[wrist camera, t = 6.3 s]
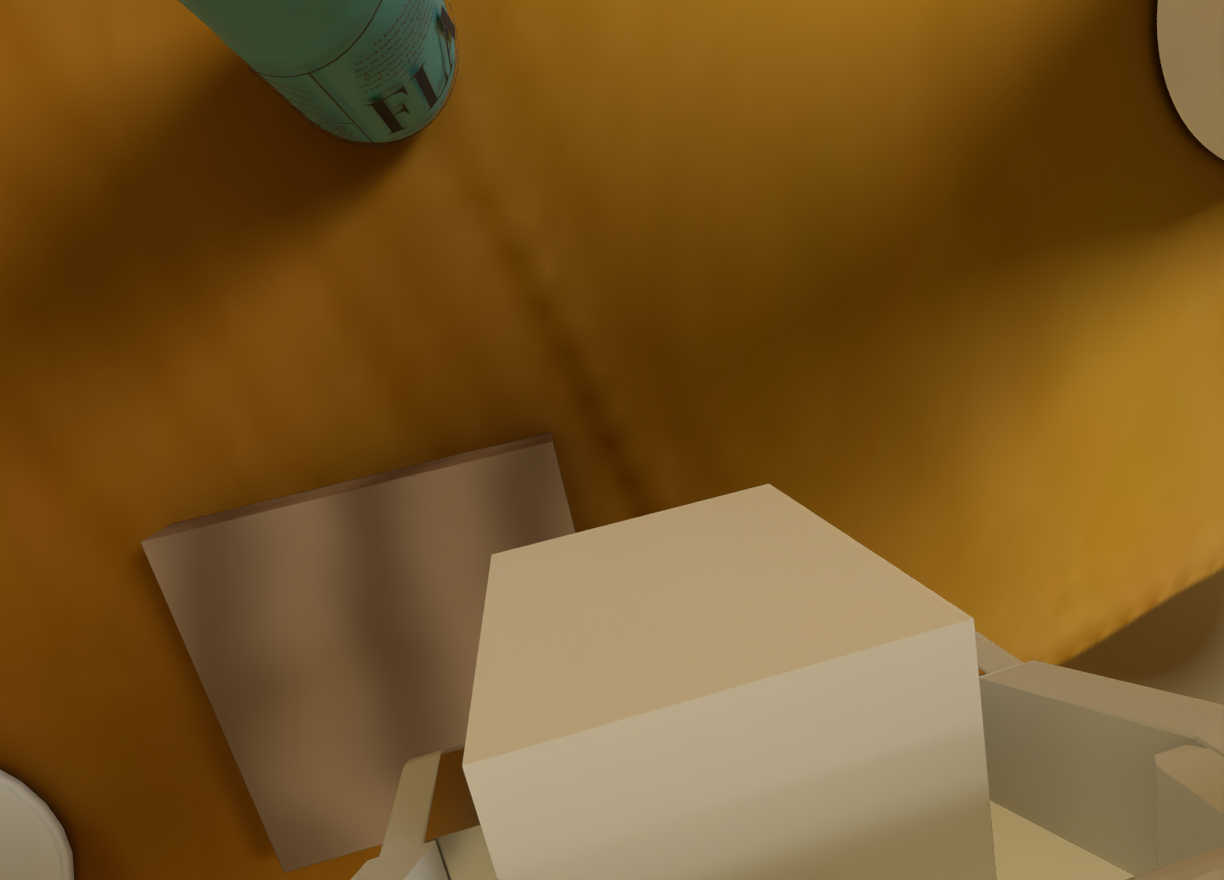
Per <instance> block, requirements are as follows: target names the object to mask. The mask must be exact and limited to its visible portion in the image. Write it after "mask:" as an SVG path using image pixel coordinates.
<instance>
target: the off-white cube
mask: <svg viewBox="0 0 1224 880" xmlns="http://www.w3.org/2000/svg"><path fill="white" fill-rule="evenodd" d="M462 767H463V771H464V774H465V777H466V780H467V783H468V786H469V790H470V793H471V796H472V799H473V802H474V805H475V809H476V812H477V815H478V818H479V821H480V824H481V828H482V831H483V834H484V837H485V840H486V843H487V847H488V850H489V853H490V856H491V859H492V862H493V866H494V869H495V872H496V875H497V878H498V880H997V878H996V866H995V855H994V844H993V832H992V822H991V810H990V798H989V787H988V775H987V764H986V752H985V741H984V730H983V718H982V707H981V695H980V684H979V673H978V661H977V650H976V638H975V627H974V618H973V617H971V616H969V615H968V614H966V613H965V612H963V611H962V610H960V609H959V608H957V607H956V606H954V605H953V604H951V603H950V602H948V601H947V600H945V599H944V598H942V597H941V596H939V595H938V594H936V593H935V592H933V591H932V590H930V589H928V588H927V587H925V586H924V585H922V584H921V583H919V582H918V581H916V580H915V579H913V578H912V577H910V576H909V575H907V574H906V573H904V572H903V571H901V570H900V569H898V568H897V567H895V566H894V565H892V564H891V563H889V562H887V561H886V560H884V559H883V558H881V557H880V556H878V555H877V554H875V553H874V552H872V551H871V550H869V549H868V548H866V547H865V546H863V545H862V544H860V543H859V542H857V541H856V540H854V539H853V538H851V537H849V536H848V535H846V534H845V533H843V532H842V531H840V530H839V529H837V528H836V527H834V526H833V525H831V524H830V523H828V522H827V521H825V520H824V519H822V518H821V517H819V516H818V515H816V514H815V513H813V512H812V511H810V510H808V509H807V508H805V507H804V506H802V505H801V504H799V503H798V502H796V501H795V500H793V499H792V498H790V497H789V496H787V495H786V494H784V493H783V492H781V491H780V490H778V489H777V488H775V487H774V486H772V485H771V484H765V485H761V486H757V487H754V488H750V489H746V490H742V491H738V492H734V493H730V494H726V495H722V496H718V497H715V498H711V499H707V500H703V501H699V502H695V503H691V504H687V505H683V506H679V507H675V508H672V509H668V510H664V511H660V512H656V513H652V514H648V515H644V516H640V517H636V518H632V519H629V520H625V521H621V522H617V523H613V524H609V525H605V526H601V527H597V528H593V529H590V530H586V531H582V532H578V533H574V534H570V535H566V536H562V537H558V538H554V539H550V540H547V541H543V542H539V543H535V544H531V545H527V546H523V547H519V548H515V549H511V550H507V551H504V552H500V553H496V554H492V555H491V562H490V569H489V576H488V584H487V591H486V598H485V605H484V612H483V619H482V627H481V634H480V641H479V648H478V655H477V663H476V670H475V677H474V684H473V691H472V699H471V706H470V713H469V720H468V727H467V734H466V742H465V749H464V756H463V763H462Z"/></svg>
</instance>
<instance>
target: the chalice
mask: <svg viewBox="0 0 1224 880" xmlns="http://www.w3.org/2000/svg"><path fill="white" fill-rule="evenodd" d="M0 880H74V868H73V854H72V850H71V847H70V845H69V842H68V839H67V837H66V834H65V831H64V828H63V826H62V825H61V824H60V822H59V821H58V819H57V818H56V817H55V815H54V814H53V812H52V811H51V810H50V808H49V807H48V805H47V804H46V803H45V802H44V801H43V800H42V799H41V798H39V797H38V796H37V795H36V794H35V793H34V792H33V791H32V790H30V789H29V788H28V787H27V786H26V785H25V784H24V783H23V782H21V781H19V780H18V779H16V778H14V777H13V776H11V775H9V774H7V773H6V772H4V771H2V770H0Z"/></svg>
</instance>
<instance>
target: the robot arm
mask: <svg viewBox="0 0 1224 880" xmlns="http://www.w3.org/2000/svg"><path fill="white" fill-rule="evenodd" d="M1157 37H1158V47H1159V55H1160V61H1161V66H1162V70H1163V75H1164V78H1165V82H1166V85H1167V88H1168V91H1169V93H1170V96H1171V99H1172V101H1173V103H1174V105H1175V107H1176V109H1177V111H1178V113H1179V115H1180V117H1181V118H1182V120H1183V121H1184V123H1185V124H1186V126H1187V127H1188V129H1189V130H1190V131H1191V132H1192V134H1193V135H1194V136H1195V137H1196V138H1197V139H1198V140H1199V141H1200V142H1201V143H1202V144H1203V145H1204V146H1205V147H1206V148H1207V149H1208V150H1210V151H1211V152H1212V153H1214V154H1215V155H1216V156H1218V157H1219V158H1221V159H1223V160H1224V0H1158V7H1157ZM975 638H976V650H977V661H978V673H979V684H980V695H981V707H982V718H983V730H984V741H985V752H986V764H987V775H988V787H989V798H990V800H991V801H993V802H995V803H997V804H999V805H1000V806H1003V807H1004V808H1006V809H1008V810H1010V811H1012V812H1014V813H1016V814H1018V815H1020V816H1022V817H1023V818H1025V819H1027V820H1029V821H1031V822H1033V823H1035V824H1037V825H1039V826H1041V827H1043V828H1044V829H1046V830H1048V831H1050V832H1052V833H1054V834H1056V835H1058V836H1060V837H1062V838H1064V839H1066V840H1067V841H1069V842H1071V843H1073V844H1075V845H1077V846H1079V847H1081V848H1083V849H1085V850H1087V851H1088V852H1090V853H1092V854H1094V855H1096V856H1098V857H1100V858H1102V859H1104V860H1106V861H1108V862H1110V863H1111V864H1113V865H1115V866H1117V867H1119V868H1121V869H1123V870H1125V871H1127V872H1129V873H1131V874H1132V875H1134V876H1135V877H1132V878H1129V879H1126V880H1224V705H1221V704H1217V703H1213V702H1208V701H1204V700H1200V699H1195V698H1192V697H1187V696H1183V695H1179V694H1175V693H1170V692H1166V691H1162V690H1157V689H1153V688H1149V687H1145V686H1141V685H1137V684H1132V683H1128V682H1124V681H1119V680H1115V679H1111V678H1107V677H1102V676H1098V675H1094V674H1090V673H1085V672H1081V671H1077V670H1073V669H1069V668H1064V667H1060V666H1056V665H1052V664H1048V663H1043V662H1039V661H1035V660H1033V661H1029V662H1026V663H1023V662H1021V661H1020V660H1018V659H1017V658H1015V657H1014V656H1012V655H1011V654H1009V653H1008V652H1006V651H1005V650H1003V649H1002V648H1001V647H999V646H998V645H996V644H995V643H993V642H992V641H990V640H989V639H987V638H986V637H984V636H983V635H981V634H980V633H978V632H977V631H975ZM464 749H465V744H463V745H460V746H456V747H452V748H448V749H445V750H444V751H437V752H434V753H430V754H427V755H423V756H420V757H416V758H413V759H410V760H409V761H408V762H407V763H406V764H405V765H404V767H403V770H402V774H401V777H400V781H399V785H398V788H397V792H396V796H395V799H394V803H393V807H392V810H391V814H390V817H389V821H388V825H387V828H386V832H385V836H384V839H383V843H382V847H381V850H380V854H379V857H377V858H374V859H371V860H368V861H367V862H366V863H365V864H364V865H363V866H362V867H361V868H360V869H359V871H358V872H357V873H356V874H355V875H354V876H353V877H352V878H351V880H498V878H497V875H496V872H495V869H494V866H493V862H492V859H491V856H490V853H489V850H488V847H487V843H486V840H485V837H484V834H483V831H482V828H481V824H480V821H479V818H478V815H477V812H476V809H475V805H474V802H473V799H472V796H471V793H470V790H469V786H468V783H467V780H466V777H465V774H464V771H463V767H462V763H463V756H464Z"/></svg>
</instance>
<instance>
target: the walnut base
mask: <svg viewBox="0 0 1224 880" xmlns="http://www.w3.org/2000/svg"><path fill="white" fill-rule="evenodd" d="M574 533H576V530H575V526H574V522H573V518H572V514H571V510H570V506H569V502H568V498H567V494H566V490H565V486H564V482H563V478H562V474H561V470H560V466H559V462H558V458H557V454H556V450H555V446H554V442H553V438H552V434H551V432H549V433H544V434H540V435H536V436H532V437H528V438H524V439H520V440H516V441H511V442H507V443H503V444H499V445H495V446H491V447H487V448H483V449H478V450H474V451H470V452H466V453H462V454H458V455H454V456H450V457H445V458H441V459H437V460H433V461H429V462H425V463H421V464H417V465H412V466H408V467H404V468H400V469H396V470H392V471H388V472H384V473H379V474H375V475H371V476H367V477H363V478H359V479H355V480H351V481H346V482H342V483H338V484H334V485H330V486H326V487H322V488H318V489H313V490H309V491H305V492H301V493H297V494H293V495H289V496H285V497H280V498H276V499H272V500H268V501H264V502H260V503H256V504H252V505H247V506H243V507H239V508H235V509H231V510H227V511H223V512H219V513H215V514H210V515H206V516H202V517H198V518H194V519H190V520H186V521H182V522H177V523H173V524H170V525H169V526H167V527H165V528H164V529H162V530H160V531H158V532H157V533H155V534H153V535H152V536H150V537H148V538H146V539H145V540H143V541H141V544H142V547H143V549H144V551H145V554H146V556H147V558H148V560H149V563H150V565H151V567H152V570H153V572H154V574H155V577H156V579H157V581H158V583H159V586H160V588H161V590H162V593H163V595H164V597H165V600H166V602H167V604H168V607H169V609H170V611H171V613H172V616H173V618H174V620H175V623H176V625H177V627H178V630H179V632H180V634H181V636H182V639H183V641H184V643H185V646H186V648H187V650H188V653H189V655H190V657H191V659H192V662H193V664H194V666H195V669H196V671H197V673H198V676H199V678H200V680H201V683H202V685H203V687H204V689H205V692H206V694H207V696H208V699H209V701H210V703H211V706H212V708H213V710H214V712H215V715H216V717H217V719H218V722H219V724H220V726H221V729H222V731H223V733H224V735H225V738H226V740H227V742H228V745H229V747H230V749H231V752H232V754H233V756H234V759H235V761H236V763H237V765H238V768H239V770H240V772H241V775H242V777H243V779H244V782H245V784H246V786H247V788H248V791H249V793H250V795H251V798H252V800H253V802H254V805H255V807H256V809H257V811H258V814H259V816H260V818H261V821H262V823H263V825H264V828H265V830H266V832H267V835H268V837H269V839H270V841H271V844H272V846H273V848H274V851H275V853H276V855H277V858H278V860H279V862H280V864H281V867H282V869H283V871H284V873H285V872H288V871H292V870H295V869H299V868H302V867H306V866H309V865H313V864H316V863H319V862H323V861H326V860H330V859H333V858H337V857H340V856H344V855H347V854H350V853H354V852H357V851H361V850H364V849H368V848H371V847H375V846H378V845H381V844H382V843H383V839H384V836H385V832H386V828H387V825H388V821H389V817H390V814H391V810H392V807H393V803H394V799H395V796H396V792H397V788H398V785H399V781H400V777H401V774H402V770H403V767H404V765H405V764H406V763H407V762H408V761H409V760H410V759H413V758H416V757H420V756H423V755H427V754H430V753H434V752H437V751H444V750H445V749H448V748H452V747H456V746H460V745H463V744H465V742H466V734H467V727H468V720H469V713H470V706H471V699H472V691H473V684H474V677H475V670H476V663H477V655H478V648H479V641H480V634H481V627H482V619H483V612H484V605H485V598H486V591H487V584H488V576H489V569H490V562H491V555H492V554H496V553H500V552H504V551H507V550H511V549H515V548H519V547H523V546H527V545H531V544H535V543H539V542H543V541H547V540H550V539H554V538H558V537H562V536H566V535H570V534H574Z"/></svg>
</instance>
